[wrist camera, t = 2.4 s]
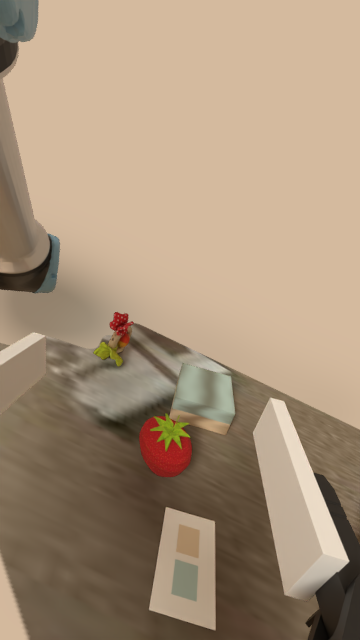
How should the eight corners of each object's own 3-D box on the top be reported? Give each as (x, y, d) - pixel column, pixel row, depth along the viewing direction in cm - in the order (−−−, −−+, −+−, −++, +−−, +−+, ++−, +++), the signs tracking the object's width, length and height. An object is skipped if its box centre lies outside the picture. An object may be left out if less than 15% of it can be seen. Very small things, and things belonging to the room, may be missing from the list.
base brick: (168, 418, 40) (175, 396, 38) (177, 382, 49) (182, 363, 47) (225, 435, 39) (235, 413, 37) (223, 395, 48) (230, 376, 46)
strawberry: (156, 438, 36) (170, 388, 32) (191, 480, 31) (212, 427, 27) (123, 460, 31) (134, 405, 27) (157, 511, 27) (176, 455, 23)
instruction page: (148, 610, 20) (149, 609, 20) (165, 507, 28) (166, 506, 27) (215, 630, 20) (215, 630, 20) (214, 522, 27) (215, 521, 27)
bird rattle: (106, 354, 55) (86, 359, 46) (121, 310, 55) (103, 306, 46) (130, 363, 54) (114, 369, 45) (145, 318, 54) (132, 316, 45)
